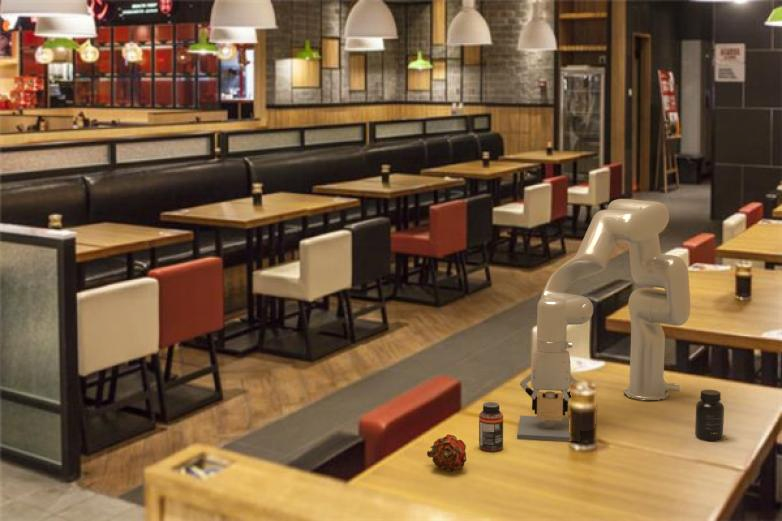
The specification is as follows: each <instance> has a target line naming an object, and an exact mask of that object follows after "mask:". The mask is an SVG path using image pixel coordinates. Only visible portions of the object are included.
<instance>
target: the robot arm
mask: <svg viewBox="0 0 782 521" xmlns="http://www.w3.org/2000/svg"><path fill="white" fill-rule="evenodd" d="M669 221H670V212H669V210H668V207H667V206H666V205H665V203H662V202H659V201H654V200H641V199H631V198H630V199H629V198H618V199H614V200H612V201H611V202H610V203H609V204H608V205H607V209H601V210H598V211H597V212H596V213H595V214H594V215H593V217H592V219H591V221H590V224H589V226H588V228H587V230H586V232H585V235H584V237H583V239H582V241H581V244H580V245H579V248H578V249H577V253H576V254H575V256H573V257H572V258H571V259H569V260H567V261H566V262H565V263H564V264H562V265H561V266H560V267H558V268H557V269H556V270H555V271H553V273H552V274H551V276H550V277H549V278H548V280H547V282H546V284H545V286H544V289H543V291H542V293H541V296H540V300H539V301H538V302H537V309H536V310H537V313H536V314H537V315H536V316H537V318H536V348H535V349H534V350H533V353H532V357H531V366H530V367H531V368H530V369H531V370H530V373H529V374H528V375H527V376H525V378H523V379H521V381H520V382H519V386H520V387H521V388H522V390H524V391H525V393H526V394H527V395H528V396H529V397H530V399H531V411H534V415H537V396H538V392H540V391H560V393H562V394H563V417H564V416H565V417H566V413H567V412H569V401H570V399H572V397H571V395H570V387H571V384H572V385H573V383H575V382H579V381H578V380H577V379H576V378H575V377H574V376H573V375H572V374H571V373H572V372H571V367H572V365H571V356H570V355H571V354H570V352H569V351H570V350H568V349H570V348H573V342H570V341H568V340H567V328H568V325H569V326H571V325H572V326H573V325H575V326H576V325H577V326H578V325H583V324H586V323H587V322H589V320H590V319H591V318H592V317H593V314H594V305H593V303H592V302H591V300H590V299H589V298H588V297H586V296H583V295H579V294H573V293H568V292H566V290H567V289H568V288H569V287H570V286H571V285H572V284H573V283H575V282H576V281H579V280H580V279H581V280H582V279H584V278H587V277H589V276H594V275H596V274H599V273H601V272H603V271H605V270H606V268H607V267H608V264H609V263H610V260H611V257H612V254H613V253H614V250H615V248H616V246H617V244H618V243H623V244H624V243H625V244H628V252H629V263H630V264H629V265H630V272H631V273H630V274H631V278H632V280H633V281H634V283H636V284H638V285H640V286H645V287H639V288H636V289H635V290H633V291H632V292H631V293H630V295H629V298H628V312H629V317H630V318H629V319H630V359H629V361H630V362H629V386H627V387H625V388H624V389H623V394H624V393H625V394H626V395H628V396H630V397H634V398H637V399H645V400H658V401H661V400H660V399H663V400H666V399H667V398H669V392H679V393H680V392H681V385H680V384H675V383H670V382H669V383H668V382H666V381H665V379H664V373H665V370H664V369H665V347H666V345H665V344H666V337H665V336H666V335H665V331H664V329H663V327H662V325H668V326H674V327H675V326H676V327H678V326H682V325H685V323H687V322H688V320H689V317H690V314H691V293H690V281H689V280H690V279H689V277H690V276H689V270H688V268H689V267H688V266H687V264H686V261H684V259H683V258H681V257H680V256H678V255H674V254H673V255H672V254H666V253H665V254H664V253H662V250H661V245H660V236H659V234H660V233H661V232H663V231H664V230H665V229H666V227H667V226H668V223H669ZM658 288H659V289H658ZM661 324H662V325H661ZM529 382H530V386H531V387H530V386H528V383H529ZM532 388H533V389H532ZM568 390H569V391H568ZM666 397H667V398H666ZM665 398H666V399H665Z"/></svg>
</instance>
